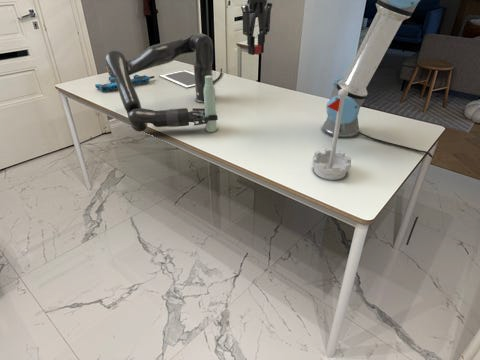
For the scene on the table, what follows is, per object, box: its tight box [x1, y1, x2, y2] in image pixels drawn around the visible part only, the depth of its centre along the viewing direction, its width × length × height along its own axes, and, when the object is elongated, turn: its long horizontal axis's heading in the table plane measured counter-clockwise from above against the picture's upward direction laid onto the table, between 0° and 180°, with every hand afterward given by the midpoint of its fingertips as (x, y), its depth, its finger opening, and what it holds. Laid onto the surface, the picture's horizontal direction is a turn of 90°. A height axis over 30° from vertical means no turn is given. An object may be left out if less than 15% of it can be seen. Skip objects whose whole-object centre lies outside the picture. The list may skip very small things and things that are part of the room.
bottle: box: [203, 75, 218, 133], centre depth 145 cm, size 5×5×24 cm
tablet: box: [159, 69, 215, 89], centre depth 215 cm, size 32×20×1 cm, turn 41°
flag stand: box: [312, 88, 352, 181], centre depth 113 cm, size 13×13×30 cm
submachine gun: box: [94, 74, 155, 92], centre depth 206 cm, size 34×4×25 cm
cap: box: [254, 44, 262, 55], centre depth 131 cm, size 4×4×2 cm
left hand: (216, 115), depth 148 cm, fingers closed on bottle, 4 cm apart
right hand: (255, 53), depth 132 cm, fingers closed on cap, 4 cm apart
